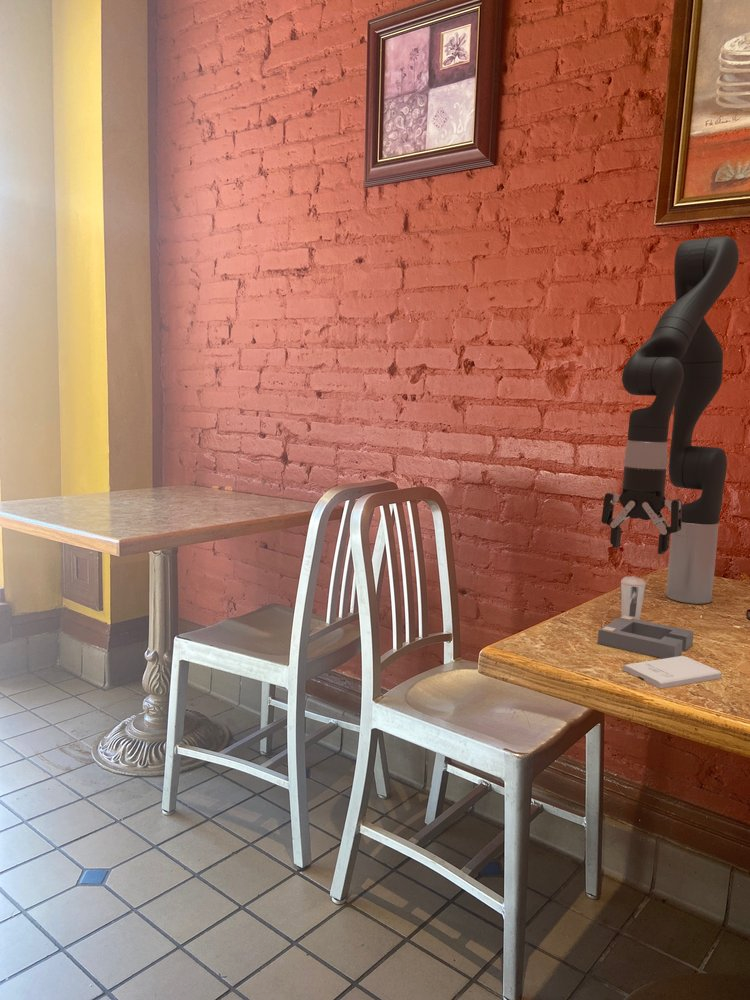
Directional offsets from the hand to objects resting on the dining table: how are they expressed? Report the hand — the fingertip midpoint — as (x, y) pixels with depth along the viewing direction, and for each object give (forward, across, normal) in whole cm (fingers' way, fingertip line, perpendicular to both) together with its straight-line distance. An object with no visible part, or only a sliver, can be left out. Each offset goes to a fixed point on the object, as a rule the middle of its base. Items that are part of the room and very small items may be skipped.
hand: (638, 550), depth 142 cm
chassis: (+14, -6, +11) cm, 19 cm away
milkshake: (+14, 0, 0) cm, 15 cm away
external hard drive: (+15, -14, +23) cm, 31 cm away
